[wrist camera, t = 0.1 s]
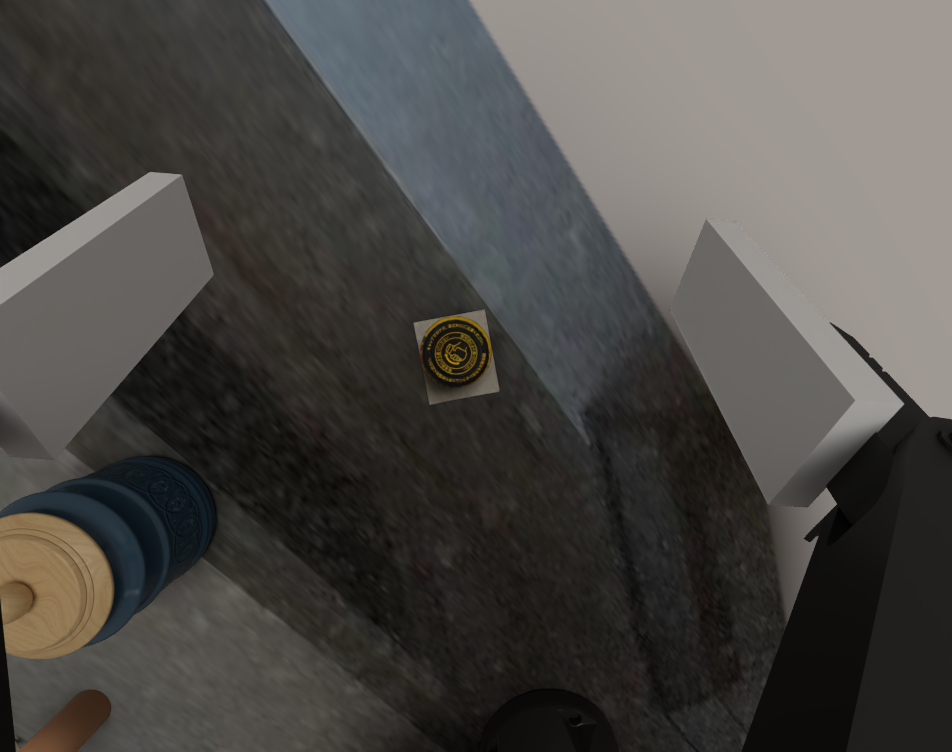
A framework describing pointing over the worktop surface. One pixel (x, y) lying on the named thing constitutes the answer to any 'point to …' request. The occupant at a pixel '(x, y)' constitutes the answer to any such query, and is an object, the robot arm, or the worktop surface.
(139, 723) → the worktop surface
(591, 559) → the worktop surface
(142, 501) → the canister
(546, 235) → the worktop surface
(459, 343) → the condiment
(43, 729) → the peg
